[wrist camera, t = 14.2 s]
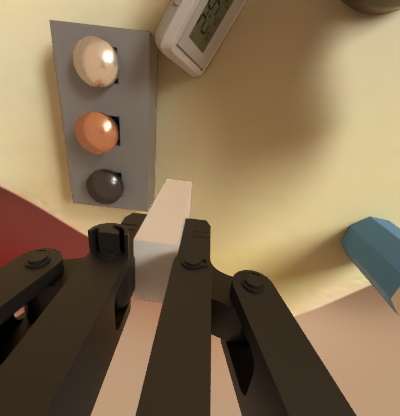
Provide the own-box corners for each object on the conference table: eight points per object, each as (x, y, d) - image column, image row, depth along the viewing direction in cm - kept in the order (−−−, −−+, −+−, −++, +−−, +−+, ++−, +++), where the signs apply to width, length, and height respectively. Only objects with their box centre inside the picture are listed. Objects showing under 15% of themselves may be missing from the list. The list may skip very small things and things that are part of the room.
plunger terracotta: (91, 107, 34) (72, 109, 30) (127, 111, 34) (114, 114, 30) (94, 144, 37) (77, 151, 32) (128, 148, 37) (116, 156, 32)
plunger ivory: (91, 42, 32) (70, 33, 27) (129, 47, 32) (115, 38, 27) (94, 85, 34) (75, 84, 30) (130, 90, 34) (117, 89, 30)
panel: (71, 30, 33) (49, 19, 29) (158, 40, 33) (149, 31, 29) (87, 191, 43) (73, 202, 39) (154, 199, 43) (147, 211, 39)
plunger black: (99, 160, 39) (84, 169, 34) (131, 164, 39) (120, 173, 34) (101, 190, 41) (87, 202, 36) (132, 193, 41) (121, 206, 36)
